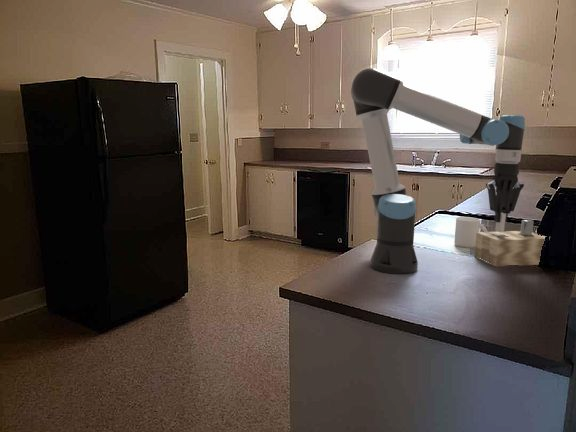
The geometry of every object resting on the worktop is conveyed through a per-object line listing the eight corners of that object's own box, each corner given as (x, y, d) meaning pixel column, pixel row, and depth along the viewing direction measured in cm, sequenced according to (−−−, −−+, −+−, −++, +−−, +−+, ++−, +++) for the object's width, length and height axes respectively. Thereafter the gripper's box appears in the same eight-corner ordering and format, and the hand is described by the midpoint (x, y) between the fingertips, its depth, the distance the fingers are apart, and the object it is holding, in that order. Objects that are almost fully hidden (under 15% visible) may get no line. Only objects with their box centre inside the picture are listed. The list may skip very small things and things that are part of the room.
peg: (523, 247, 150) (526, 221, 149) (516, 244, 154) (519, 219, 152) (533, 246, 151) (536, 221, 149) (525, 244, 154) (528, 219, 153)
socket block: (494, 266, 145) (497, 240, 143) (474, 256, 157) (476, 232, 155) (548, 264, 148) (551, 238, 146) (524, 254, 160) (527, 230, 158)
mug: (483, 250, 164) (485, 223, 162) (451, 245, 172) (453, 219, 170) (489, 246, 171) (492, 219, 169) (458, 241, 178) (460, 215, 176)
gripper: (496, 163, 140) (488, 234, 145) (532, 163, 143) (523, 233, 147) (482, 161, 148) (475, 229, 152) (517, 162, 150) (509, 228, 154)
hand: (499, 231), depth 150 cm, fingers closed
